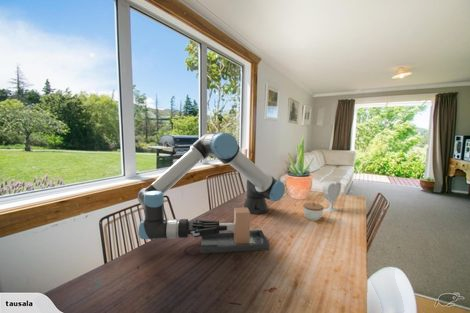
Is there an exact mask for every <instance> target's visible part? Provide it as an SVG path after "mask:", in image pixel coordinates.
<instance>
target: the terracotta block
mask: <svg viewBox="0 0 470 313" xmlns="http://www.w3.org/2000/svg"><path fill="white" fill-rule="evenodd" d="M250 221H251V213H250V211H249V209H248V208H244V207H234V208H233V223H234V224H235V226H234V230H233V231H234V241H235V244H239V243H249V237H250V231H251V228H250V227H251V226H250V225H251V224H250V223H251V222H250Z"/></svg>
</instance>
